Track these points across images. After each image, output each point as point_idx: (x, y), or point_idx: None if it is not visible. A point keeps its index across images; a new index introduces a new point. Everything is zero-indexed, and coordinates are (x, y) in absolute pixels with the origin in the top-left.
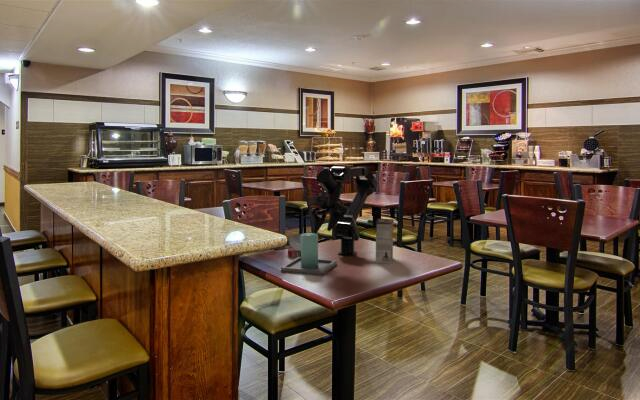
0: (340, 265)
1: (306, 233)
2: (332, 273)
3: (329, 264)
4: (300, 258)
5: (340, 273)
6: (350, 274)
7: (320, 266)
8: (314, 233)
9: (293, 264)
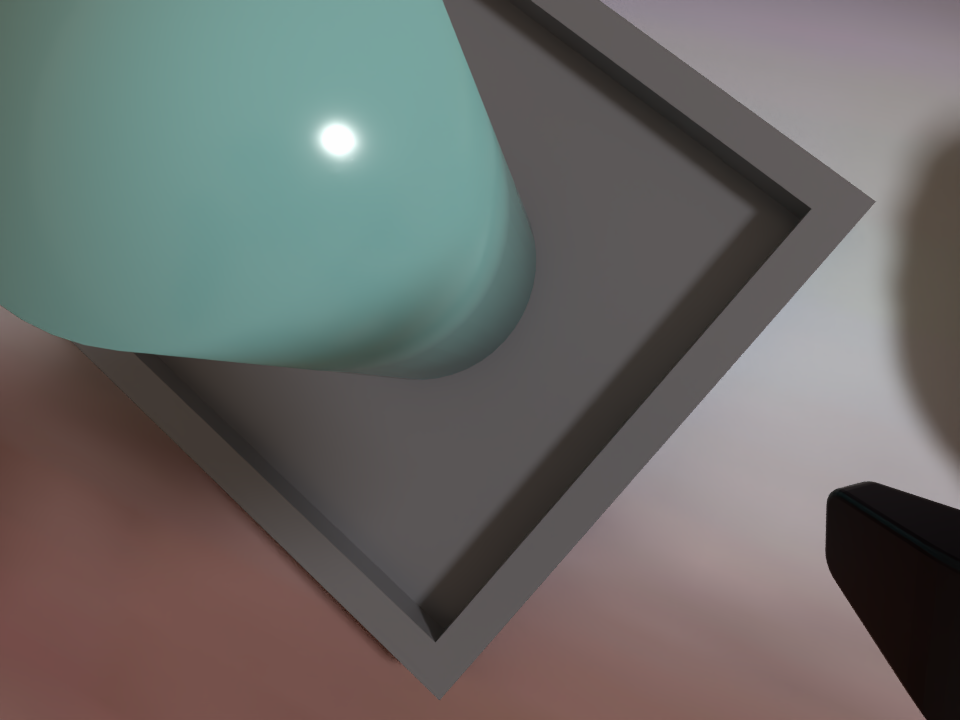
0: (392, 704)
1: (386, 27)
2: (110, 448)
3: (273, 504)
4: (797, 226)
5: (76, 536)
6: (2, 626)
7: (363, 399)
8: (269, 292)
9: (594, 76)
